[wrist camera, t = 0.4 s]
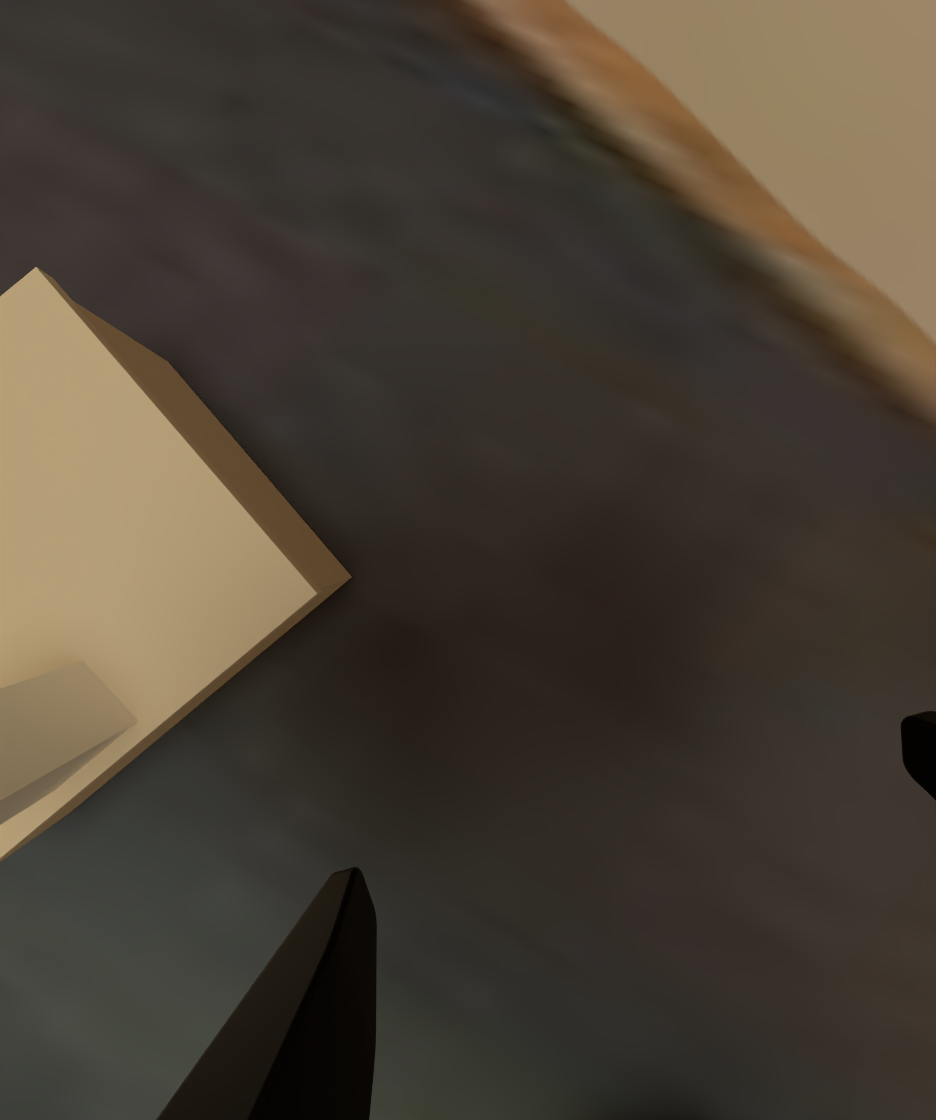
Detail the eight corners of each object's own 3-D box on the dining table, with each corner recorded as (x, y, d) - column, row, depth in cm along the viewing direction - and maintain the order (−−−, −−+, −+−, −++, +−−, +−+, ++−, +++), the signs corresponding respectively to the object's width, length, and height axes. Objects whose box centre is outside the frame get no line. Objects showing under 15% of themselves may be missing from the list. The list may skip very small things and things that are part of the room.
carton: (352, 577, 21) (313, 590, 15) (71, 811, 21) (-78, 917, 15) (168, 362, 21) (53, 288, 15) (-122, 602, 21) (-357, 627, 15)
